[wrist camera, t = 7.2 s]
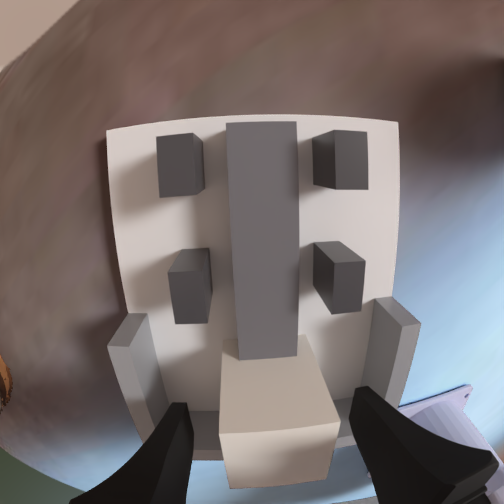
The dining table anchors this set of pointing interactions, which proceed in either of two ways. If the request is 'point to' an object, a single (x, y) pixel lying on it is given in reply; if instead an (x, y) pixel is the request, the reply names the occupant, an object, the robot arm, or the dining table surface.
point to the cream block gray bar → (269, 323)
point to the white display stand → (362, 501)
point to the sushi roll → (4, 384)
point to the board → (221, 265)
